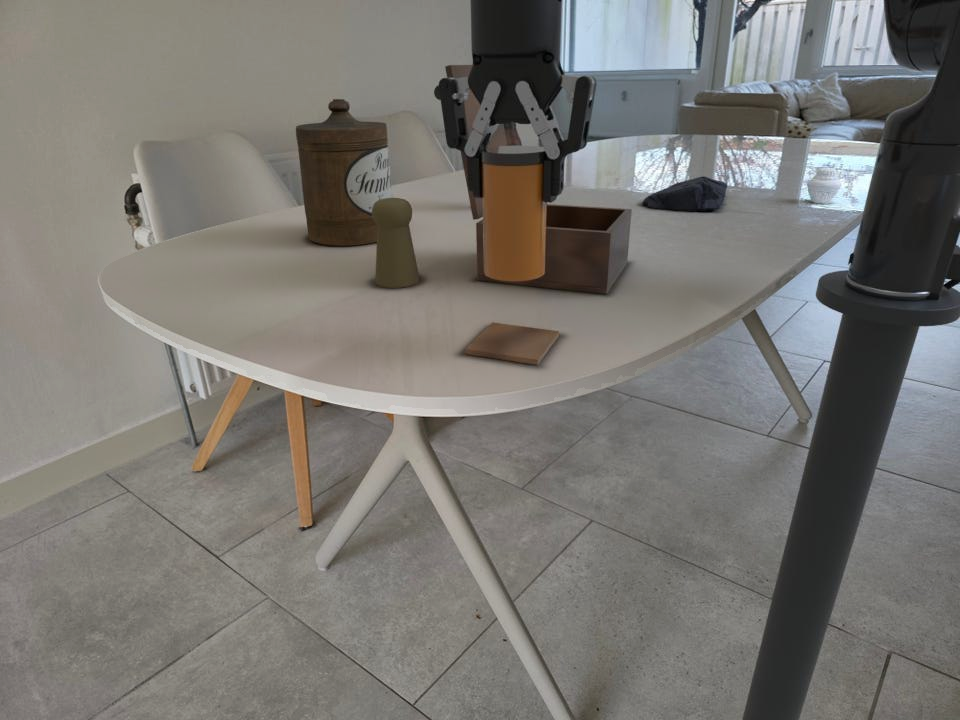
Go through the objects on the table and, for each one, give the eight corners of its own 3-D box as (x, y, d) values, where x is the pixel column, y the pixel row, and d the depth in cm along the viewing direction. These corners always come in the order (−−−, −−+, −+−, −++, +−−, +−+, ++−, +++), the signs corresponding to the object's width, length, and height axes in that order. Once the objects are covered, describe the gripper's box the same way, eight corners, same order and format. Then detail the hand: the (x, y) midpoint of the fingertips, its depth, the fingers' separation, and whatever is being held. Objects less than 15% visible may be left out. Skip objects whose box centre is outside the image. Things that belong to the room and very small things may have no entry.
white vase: (819, 198, 130) (826, 163, 127) (844, 203, 125) (852, 167, 122) (796, 200, 128) (803, 165, 125) (820, 206, 123) (828, 169, 120)
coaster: (559, 336, 66) (559, 331, 66) (537, 365, 60) (537, 359, 59) (492, 327, 69) (492, 322, 68) (465, 354, 62) (465, 348, 62)
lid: (494, 64, 86) (462, 72, 88) (450, 64, 74) (414, 73, 76) (515, 198, 92) (485, 202, 94) (478, 219, 80) (444, 223, 82)
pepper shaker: (416, 272, 88) (411, 193, 83) (422, 285, 82) (417, 201, 78) (373, 276, 86) (366, 196, 82) (376, 289, 81) (368, 204, 76)
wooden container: (379, 247, 100) (366, 100, 91) (294, 245, 103) (272, 101, 93) (405, 226, 113) (396, 96, 104) (329, 224, 116) (314, 97, 106)
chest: (627, 263, 90) (631, 208, 87) (606, 294, 78) (611, 232, 74) (512, 252, 96) (513, 201, 93) (477, 280, 84) (475, 223, 81)
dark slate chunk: (737, 194, 135) (740, 172, 133) (716, 214, 118) (720, 188, 116) (666, 189, 142) (669, 168, 140) (637, 207, 125) (640, 183, 123)
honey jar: (553, 266, 62) (557, 146, 57) (535, 284, 57) (537, 154, 52) (496, 260, 65) (495, 144, 60) (473, 278, 59) (469, 152, 54)
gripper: (416, -8, 50) (428, 202, 57) (592, -20, 45) (581, 211, 52) (454, 0, 56) (460, 188, 63) (613, -10, 51) (600, 195, 58)
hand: (515, 198), depth 58 cm, fingers closed on honey jar, 6 cm apart
